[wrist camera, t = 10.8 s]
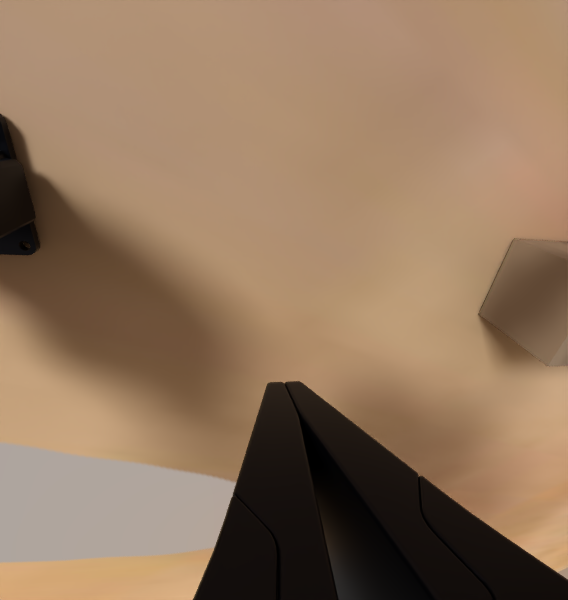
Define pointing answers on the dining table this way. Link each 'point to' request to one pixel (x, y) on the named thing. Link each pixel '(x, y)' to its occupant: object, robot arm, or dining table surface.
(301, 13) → the dining table surface
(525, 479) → the dining table surface
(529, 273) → the polished metal block
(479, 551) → the robot arm
